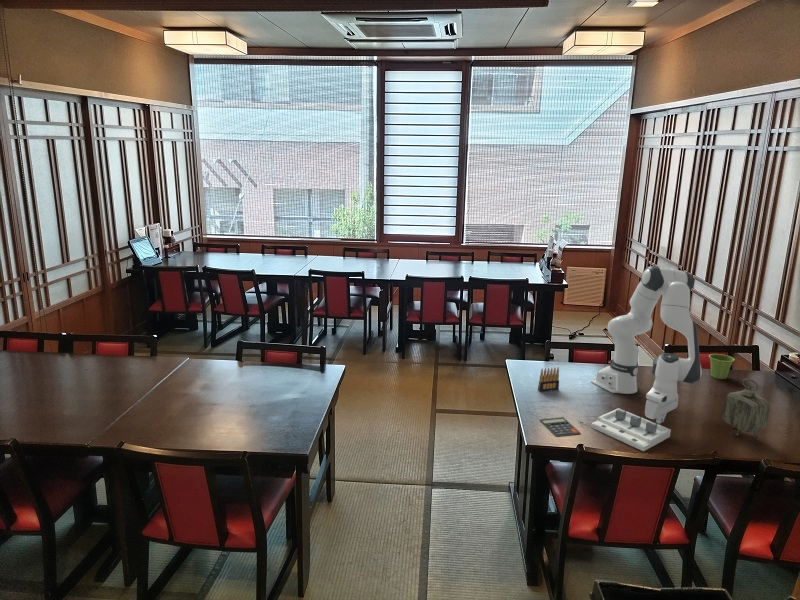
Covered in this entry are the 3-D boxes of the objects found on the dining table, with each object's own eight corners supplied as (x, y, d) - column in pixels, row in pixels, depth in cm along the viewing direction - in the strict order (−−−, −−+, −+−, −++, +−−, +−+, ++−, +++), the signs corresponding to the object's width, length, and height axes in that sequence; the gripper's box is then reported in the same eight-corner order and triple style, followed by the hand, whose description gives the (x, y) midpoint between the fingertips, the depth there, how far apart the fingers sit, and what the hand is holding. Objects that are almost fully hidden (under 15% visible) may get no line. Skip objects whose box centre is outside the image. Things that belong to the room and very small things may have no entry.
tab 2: (629, 424, 227) (630, 415, 226) (633, 422, 229) (635, 413, 228) (636, 427, 225) (637, 418, 224) (640, 425, 227) (641, 416, 226)
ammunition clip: (556, 388, 269) (558, 366, 266) (558, 389, 267) (560, 367, 264) (537, 390, 266) (539, 367, 263) (539, 391, 264) (541, 369, 261)
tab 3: (645, 430, 222) (646, 422, 221) (649, 428, 224) (650, 420, 223) (652, 433, 219) (653, 425, 218) (656, 431, 221) (657, 422, 220)
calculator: (555, 435, 221) (539, 419, 235) (555, 437, 221) (539, 421, 235) (581, 432, 223) (563, 416, 238) (581, 434, 224) (563, 418, 238)
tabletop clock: (764, 441, 220) (775, 385, 213) (748, 444, 217) (759, 388, 210) (732, 425, 233) (742, 372, 227) (716, 428, 230) (726, 374, 224)
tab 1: (615, 418, 233) (616, 409, 232) (619, 416, 235) (620, 407, 234) (621, 420, 230) (622, 412, 229) (625, 418, 232) (626, 410, 231)
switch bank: (591, 427, 229) (591, 419, 228) (617, 415, 241) (618, 408, 240) (643, 451, 211) (644, 443, 210) (669, 437, 222) (670, 429, 221)
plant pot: (726, 374, 290) (730, 354, 287) (734, 382, 279) (738, 362, 276) (702, 371, 293) (705, 352, 290) (709, 380, 281) (713, 360, 279)
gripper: (669, 384, 229) (665, 413, 233) (643, 395, 218) (639, 425, 221) (684, 388, 224) (679, 418, 228) (658, 400, 213) (654, 432, 216)
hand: (659, 422), depth 224 cm, fingers closed
